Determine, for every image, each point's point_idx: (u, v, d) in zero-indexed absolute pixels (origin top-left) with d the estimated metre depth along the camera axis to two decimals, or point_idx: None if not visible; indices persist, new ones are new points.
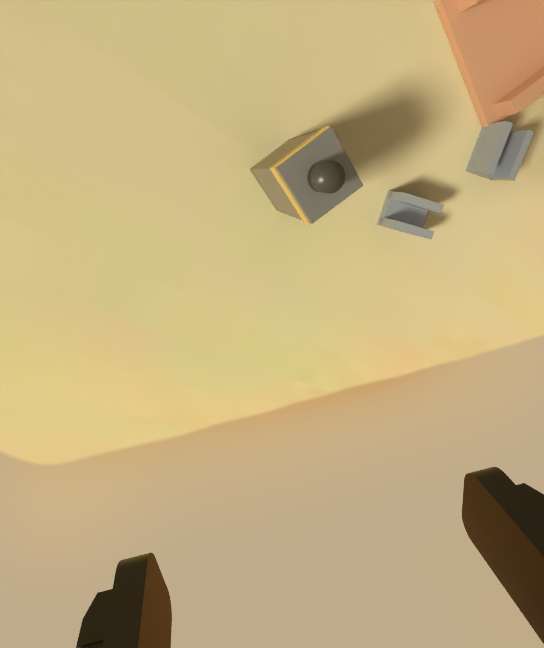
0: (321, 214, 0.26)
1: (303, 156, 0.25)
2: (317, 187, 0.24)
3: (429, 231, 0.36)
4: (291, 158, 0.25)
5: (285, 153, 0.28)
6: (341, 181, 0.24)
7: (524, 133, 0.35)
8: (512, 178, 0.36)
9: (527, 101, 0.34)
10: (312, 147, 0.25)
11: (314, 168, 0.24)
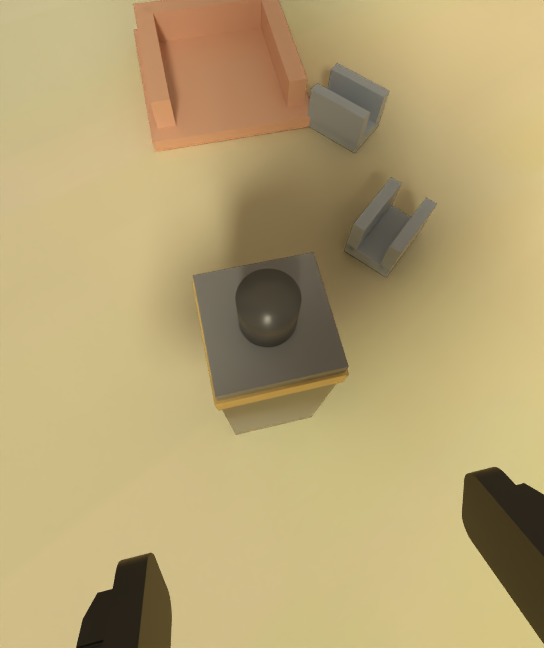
0: (337, 342, 0.12)
1: (217, 339, 0.12)
2: (278, 329, 0.11)
3: (424, 203, 0.23)
4: (211, 363, 0.12)
5: None
6: (285, 279, 0.11)
7: (334, 74, 0.27)
8: (386, 92, 0.26)
9: (298, 65, 0.27)
10: (210, 318, 0.13)
11: (242, 324, 0.12)
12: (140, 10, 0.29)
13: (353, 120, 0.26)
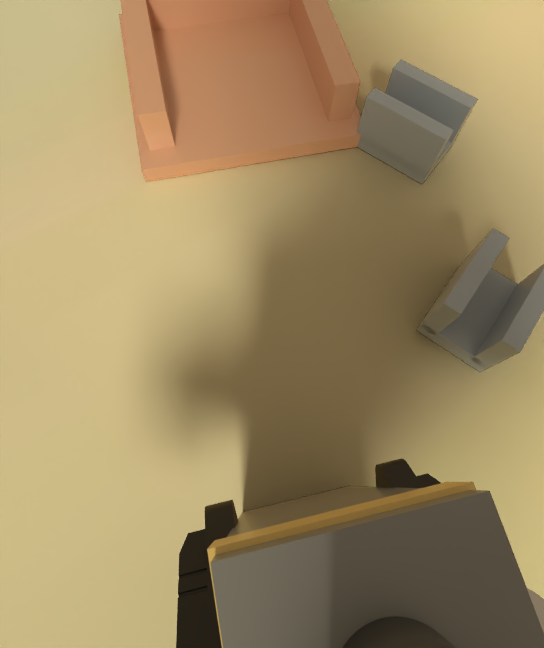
0: None
1: None
2: None
3: None
4: None
5: None
6: None
7: (397, 75, 0.19)
8: (473, 101, 0.18)
9: (347, 63, 0.19)
10: None
11: None
12: None
13: (427, 141, 0.18)
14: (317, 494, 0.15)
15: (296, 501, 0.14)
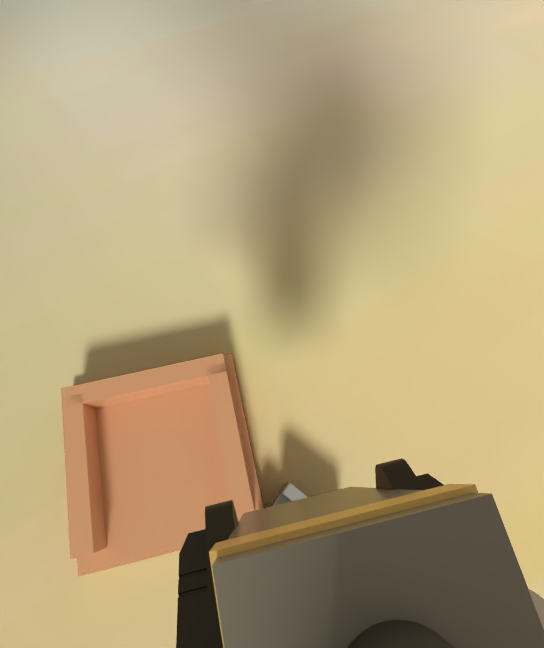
0: None
1: None
2: None
3: None
4: None
5: None
6: None
7: (286, 496, 0.23)
8: None
9: (245, 489, 0.23)
10: None
11: None
12: (69, 396, 0.25)
13: None
14: (318, 495, 0.15)
15: (297, 502, 0.13)
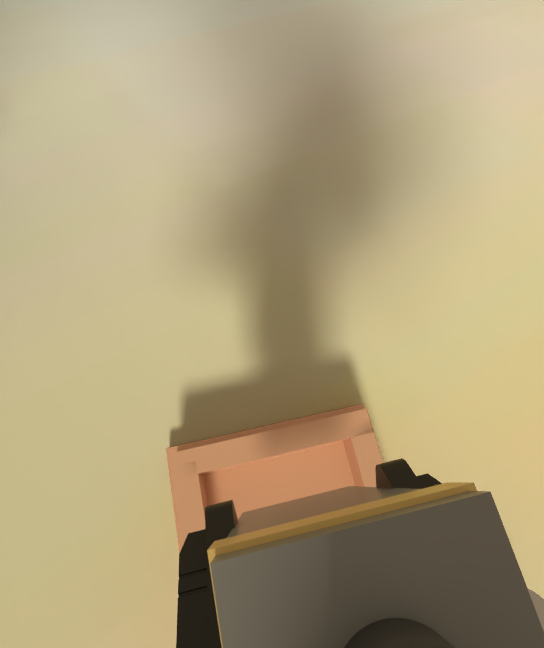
0: None
1: None
2: None
3: None
4: None
5: None
6: None
7: None
8: None
9: None
10: None
11: None
12: (179, 464, 0.20)
13: None
14: (317, 494, 0.15)
15: (296, 501, 0.13)
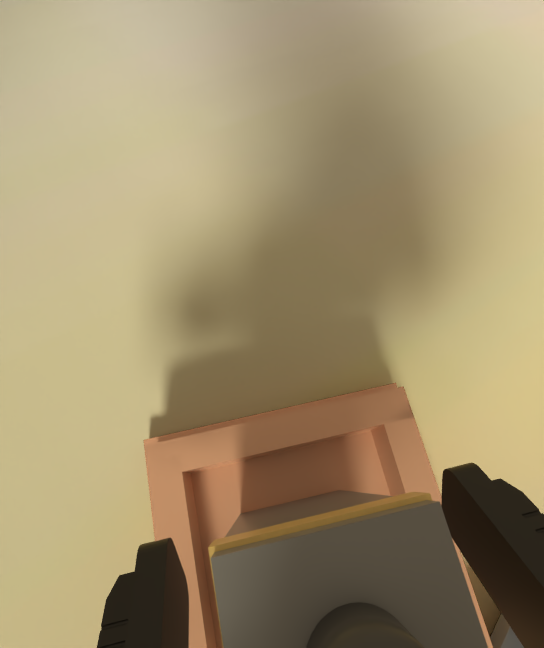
0: None
1: None
2: None
3: None
4: None
5: None
6: None
7: None
8: None
9: None
10: None
11: None
12: (158, 459, 0.15)
13: None
14: (309, 497, 0.16)
15: (289, 504, 0.15)
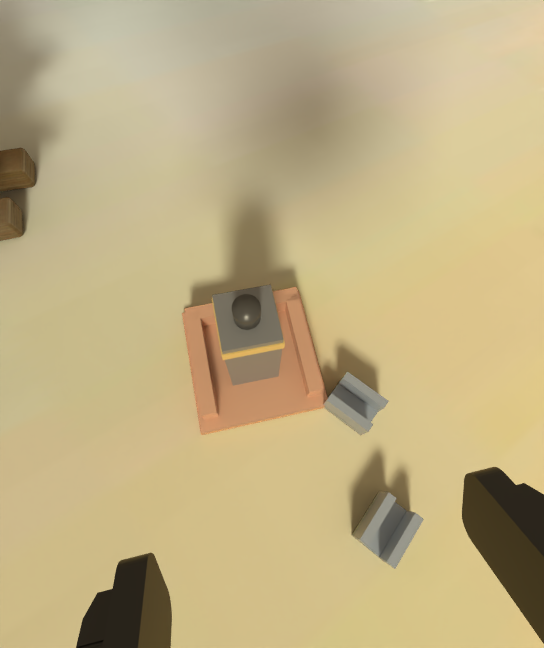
0: (279, 328, 0.27)
1: (223, 325, 0.27)
2: (250, 321, 0.25)
3: (413, 519, 0.30)
4: (220, 336, 0.26)
5: None
6: (254, 299, 0.26)
7: (345, 381, 0.34)
8: (385, 403, 0.33)
9: (316, 374, 0.34)
10: (220, 315, 0.27)
11: (234, 319, 0.26)
12: (190, 314, 0.36)
13: (359, 426, 0.33)
14: None
15: None
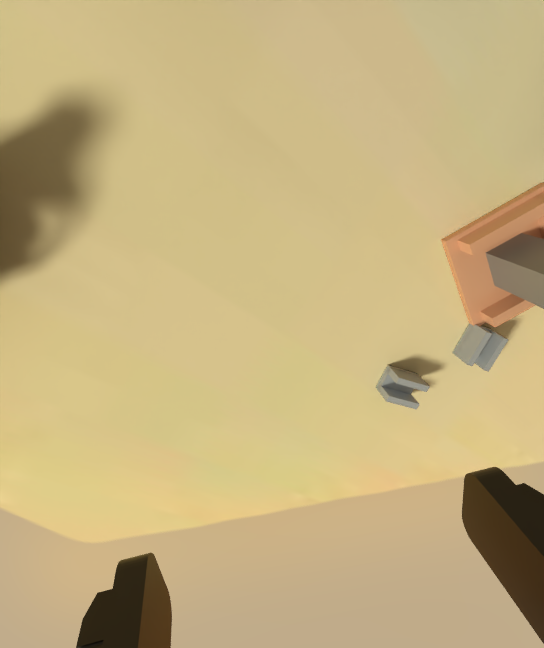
0: None
1: None
2: None
3: (415, 404, 0.45)
4: None
5: None
6: None
7: (500, 339, 0.44)
8: (487, 370, 0.45)
9: (505, 319, 0.42)
10: None
11: None
12: None
13: (467, 357, 0.44)
14: None
15: None
